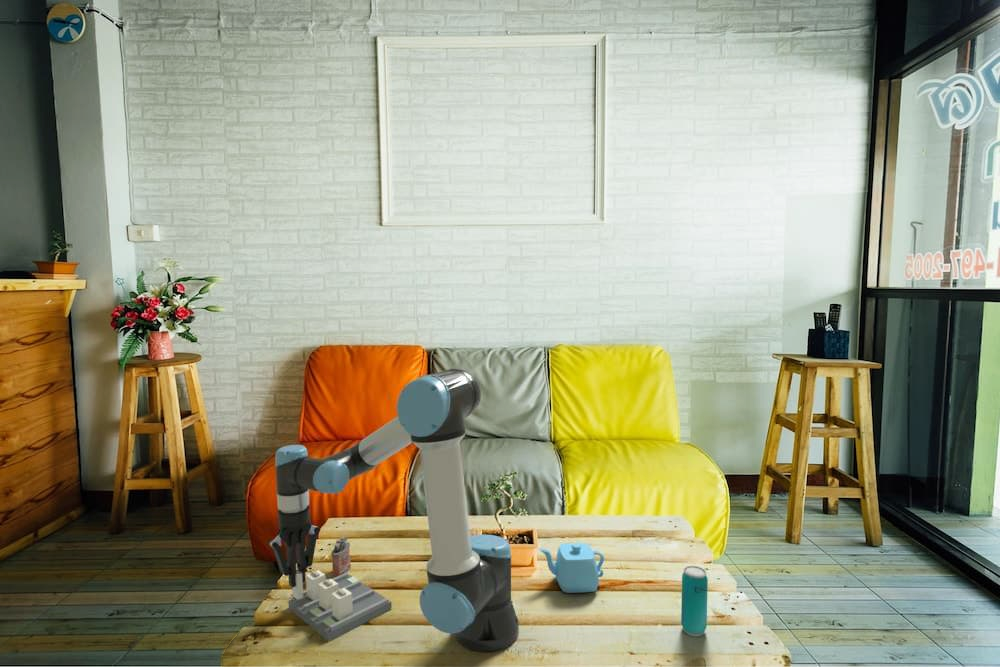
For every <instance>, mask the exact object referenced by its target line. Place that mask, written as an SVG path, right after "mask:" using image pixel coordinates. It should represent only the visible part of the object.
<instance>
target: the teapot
mask: <svg viewBox="0 0 1000 667" xmlns="http://www.w3.org/2000/svg"><path fill="white" fill-rule="evenodd" d="M538 550H539V551H540V552H541V553H543V554H544V555H545V558H546V562H547V566H548V569H549V571H550V572H551V574H553V575H554V576H555V578H556V581H557V584H558V586H559V587H560V590H561V591H562V592H563V593H567V594H572V593H573V594H574V593H575V594H576V593H591V592H593V593H594V592H596V591H597V590H598V588H599V578H602V577H603V575H604V570H603V569H601V568H602V566H603V563H604V561H605V557H604V554H603V553H602V552H601V551H599V550H593V549H592V547H591V546H590V545H589V543H587V542H570V543H569V542H568V543H565V542H564V543H560V544H559V546H558V549H557V553H556V558H555V561H554V560H553V557H552V553H551V551H549V550H548V549H546V548H538ZM595 555H598V556H599V557H600V558H599V561H598V564H597V561H596V557H595Z"/></svg>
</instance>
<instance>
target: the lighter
mask: <svg viewBox="0 0 1000 667" xmlns="http://www.w3.org/2000/svg"><path fill="white" fill-rule="evenodd" d="M350 547H351V542H349V541H348V536H347V535H343V536H342V537H340V539H337V540H336V542H335V544H334V549H333V550H332V552H331V553H330V554H331V561H332V564H331V565H332V575H331V576H332V578H335V577H337V576H340V575H342V574H344V573H347V572H348V571H350V570H351V569H352V568H351V567H352V564H351V558H350V557H351V556H350ZM348 573H349V572H348ZM332 578H331V579H332Z"/></svg>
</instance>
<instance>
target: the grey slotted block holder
mask: <svg viewBox="0 0 1000 667" xmlns="http://www.w3.org/2000/svg"><path fill="white" fill-rule="evenodd" d="M331 579H332V578H331ZM332 580H334V581H335V582H337V583H338V587H339V589H343V588H345V589H347V590H348V591H350V592H351V593H352V603H353V615H351V616H349V617H346V618H344V619H342V620H340V621H339V620H338V619H336V618H335V617H334V616H332V608H331V609H329V610H327V611H326V610H325V609H324V608H322V607H321V606H320V605H319V598H318V599H316V600H314V601H313V600H312V599H311V598H309V597H308V596H307V592H306V589H305V590H304V589H303V598H301V599H298V600H297V599H296V598H295V597H294V596H293V595H291V599H290V600H288V602H287V603H288V610H290V611H291V612H292V611H293V612H292V613H294V615H296V616H297V617H298V618H299V619H301V620H302V621H303V622H304V623H306V625H308V626H309V627H310V628H311V629H313V631H315V632H316V633H317V634H318V635H320V636H321V637H322V638H324V640H326V641H327V642H330V641H332V640H334V639H336V638H338V637H341V636H342V635H344V634H346V633H348V632H350V631H351V630H354V629H355V628H358V627H360V626H361V625H363V624H364V625H365V623H367V622H369V621H372V620H374V619H375V618H377V617H379V616H381V615H382V614H384V613H387V612H389V611H391V610H392V609H393V608H392V601H391V600H389V599H388V598H386V597H385V596H383V595H382V594H380V593H378V591H375V590H374V589H373V588H371V587H369V586H368V585H366V584H365V583H363V582H361V581H360V580H359V579H358V578H357V577H355V576H352V575H351V574H349V572H348V573H344V574H342V575H340V576H337V577H335V578H333V579H332ZM391 608H392V609H391ZM390 609H391V610H390ZM388 610H389V611H388Z"/></svg>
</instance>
